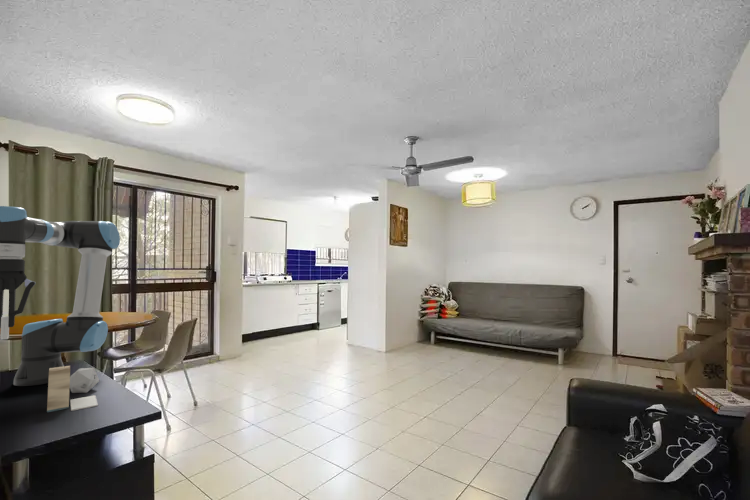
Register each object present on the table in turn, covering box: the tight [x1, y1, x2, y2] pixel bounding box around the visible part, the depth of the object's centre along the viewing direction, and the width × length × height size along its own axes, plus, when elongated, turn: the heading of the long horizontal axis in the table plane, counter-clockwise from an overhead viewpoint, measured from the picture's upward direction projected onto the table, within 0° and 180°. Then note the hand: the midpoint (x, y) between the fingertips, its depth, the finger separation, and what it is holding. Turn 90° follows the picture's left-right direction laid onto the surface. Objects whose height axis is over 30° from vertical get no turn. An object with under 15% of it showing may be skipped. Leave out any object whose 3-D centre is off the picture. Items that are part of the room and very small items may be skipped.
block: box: [46, 365, 71, 413], centre depth 115 cm, size 5×5×12 cm
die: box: [69, 367, 100, 394], centre depth 131 cm, size 8×9×10 cm
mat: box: [69, 394, 99, 412], centre depth 119 cm, size 12×6×1 cm, turn 40°
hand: (4, 338), depth 110 cm, fingers closed
